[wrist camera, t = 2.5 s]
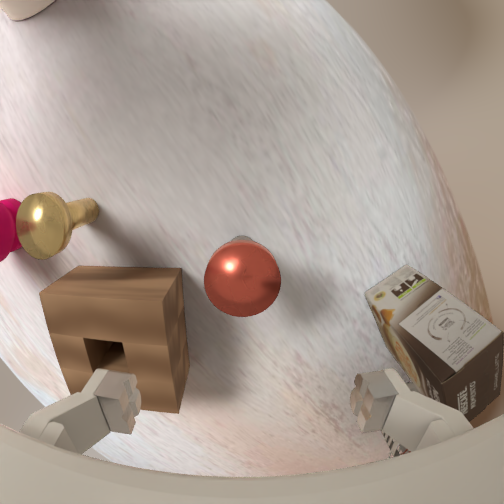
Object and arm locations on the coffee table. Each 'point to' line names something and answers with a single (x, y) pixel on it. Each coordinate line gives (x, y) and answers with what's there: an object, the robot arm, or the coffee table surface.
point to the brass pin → (51, 222)
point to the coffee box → (439, 341)
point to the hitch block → (121, 329)
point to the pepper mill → (8, 227)
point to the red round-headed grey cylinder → (242, 278)
